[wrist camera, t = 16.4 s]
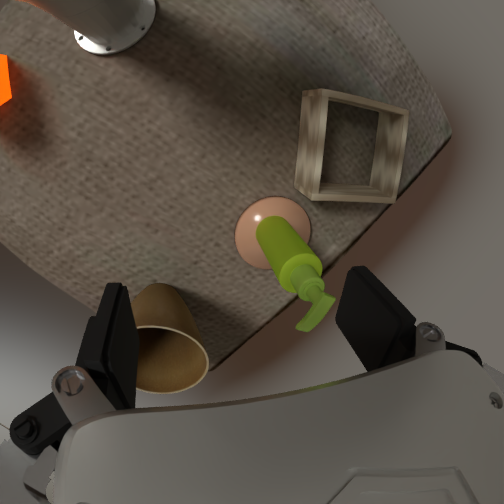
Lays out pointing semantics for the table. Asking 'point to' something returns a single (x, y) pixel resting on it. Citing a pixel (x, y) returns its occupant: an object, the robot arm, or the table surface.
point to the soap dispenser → (295, 267)
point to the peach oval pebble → (256, 214)
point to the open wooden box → (385, 153)
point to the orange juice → (4, 80)
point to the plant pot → (167, 342)
